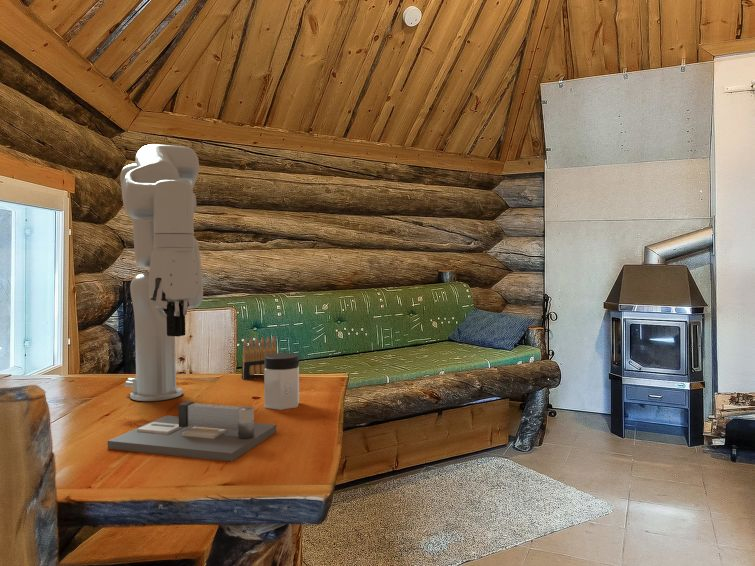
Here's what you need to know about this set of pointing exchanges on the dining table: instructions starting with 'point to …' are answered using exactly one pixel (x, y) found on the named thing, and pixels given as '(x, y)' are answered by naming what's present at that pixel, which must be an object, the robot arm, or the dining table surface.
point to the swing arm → (217, 417)
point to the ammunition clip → (256, 357)
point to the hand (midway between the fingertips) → (176, 335)
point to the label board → (189, 440)
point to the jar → (281, 381)
